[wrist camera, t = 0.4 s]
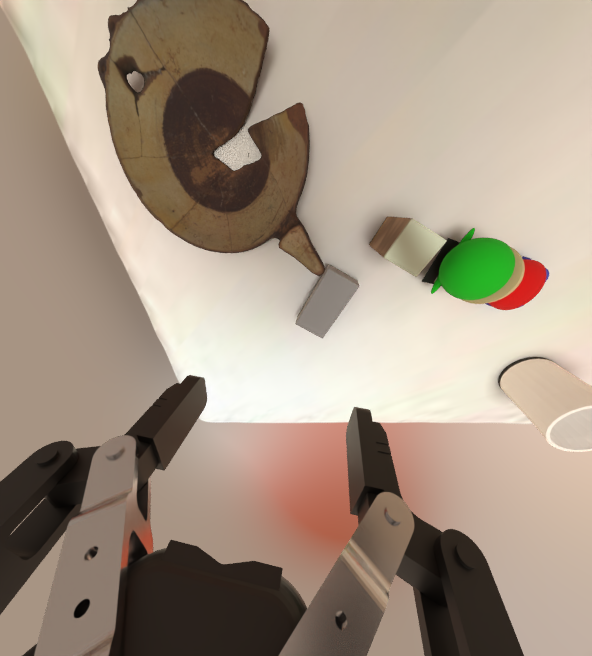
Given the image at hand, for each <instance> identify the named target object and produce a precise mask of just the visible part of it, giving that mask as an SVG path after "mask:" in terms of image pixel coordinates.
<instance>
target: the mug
mask: <svg viewBox="0 0 592 656" xmlns="http://www.w3.org/2000/svg"><path fill="white" fill-rule="evenodd" d="M499 385H500V388H501V389H502V390H503V391H504V392H505V393H506V395H507V396H508V397H509V398H510V399H511V400H512V401H513V402H514V403H515V404H516V405H517V407H518V408H519V409H520V410H521V411H522V412H523V413H524V414H525V415H526V416H527V418H528V419H529V420H530V421H531V422H532V423H533V424H534V425H535V426H536V428H537V429H538V430H539V431H540V433H541V434H542V435H543V436H544V438H545V439H546V440H547V442H548V443H549V444H550V445H552V446H554V447H555V448H558V449H561V450H564V451H572V452H584V451H592V386H590V385H588V384H587V383H585V382H584V381H582V380H580V379H579V378H577V377H576V376H574V375H573V374H571V373H569V372H568V371H566V370H565V369H563V368H562V367H560V366H558V365H557V364H555V363H554V362H552V361H551V360H548V359H545V358H537V357H533V358H526V359H522V360H519V361H517V362H514V363H512V364H511V365H509V366H508V367H506V368H505V369H504V370H503V371H502V373H501V375H500V377H499Z"/></svg>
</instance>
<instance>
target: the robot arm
mask: <svg viewBox="0 0 592 656" xmlns="http://www.w3.org/2000/svg"><path fill="white" fill-rule="evenodd" d="M206 402H207V393H206V386H205V379H204V378H202V377H197V376H192V375H189V376H187V377H186V378H185V379H184V380H183V382H182V383H181V384H179V383H176V384H174V385H173V386H171V387H170V388H168V389H166V391H165V392H164V393H163V394H162V395H161V396H160V397H159V399H157V400H156V402H154V404H153V406H151V407H150V408H149V409H148V410H147V411H146V412H145V414H144V415H143V416H142V417H141V418H140V419H139V420H138V421H137V422H136V423H135V424H134V425H133V427H131V429H130V430H129V431H128V432H127V433H126V434H125V435H122V436H118V437H115V438H112V439H110V440H109V441H107V442H105V443H104V444H103V445H102V446H97V447H88V448H79V449H75V447H74V446H73V444H72V443H71V442H68V441H58V442H54V443H51V444H49V445H46V446H44V447H42V448H41V449H39V450H37V451H36V452H35V453H33V454H32V455H31V456H30V457H29V458H27V459H26V460H25V461H24V462H23V463H22V464H20V465H19V466H18V467H17V468H16V469H15V470H14V471H12V472H11V473H10V474H9V475H8V476H7V477H6V478H4V479H3V480H2V481H1V482H0V614H1V613H2V612H3V610H4V609H5V608H6V606H7V605H8V604H9V603H10V601H11V600H12V599H13V598H14V596H15V595H16V594H17V592H18V591H19V590H20V589H21V587H22V586H23V585H24V583H25V582H26V581H27V580H28V578H29V577H30V576H31V574H32V573H33V572H34V570H35V569H36V568H37V567H38V565H39V564H40V562H41V561H42V560H43V559H44V558H45V556H46V555H47V554H48V553H49V551H50V550H51V549H52V547H53V546H54V545H55V543H56V542H57V541H58V540H59V538H60V537H61V536H62V535H63V533H64V532H65V531H66V533H65V537H64V541H63V545H62V549H61V553H60V557H59V561H58V565H57V568H56V572H55V576H54V581H53V584H52V588H51V592H50V596H49V600H48V604H47V608H46V612H45V615H44V619H43V623H42V627H41V631H40V635H39V639H38V643H37V644H36V645H35V646H33V647H32V648H31V649H30V650H29V651H27V652H26V653H25V654H24V655H23V656H367V653H368V651H369V648H370V646H371V643H372V641H373V638H374V636H375V633H376V631H377V629H378V626H379V624H380V621H381V619H382V617H383V614H384V611H385V609H386V606H387V603H388V599H389V589H390V587H391V584H392V582H393V579H394V577H395V575H397V576H399V577H400V578H401V579H403V580H404V581H406V582H407V583H409V584H410V585H411V586H413V590H414V595H415V602H416V607H417V613H418V619H419V625H420V631H421V637H422V643H423V649H424V655H425V656H524V655H523V652H522V649H521V647H520V644H519V642H518V639H517V637H516V634H515V632H514V629H513V627H512V624H511V621H510V619H509V616H508V614H507V611H506V609H505V606H504V604H503V601H502V599H501V596H500V593H499V591H498V588H497V586H496V584H495V581H494V578H493V576H492V573H491V570H490V568H489V566H488V563H487V561H486V559H485V557H484V555H483V553H482V552H481V550H480V549H479V548H478V546H477V545H476V544H475V543H474V542H473V541H472V540H471V539H470V538H469V537H468V536H466V535H465V534H463V533H462V532H460V531H457V530H453V529H448V530H446V531H444V532H441V531H440V530H438V529H436V528H435V527H433V526H431V525H429V524H428V523H426V522H424V521H423V520H421V519H420V518H418V517H417V516H416V515H414V514H413V513H412V512H411V510H410V509H409V507H408V506H407V504H406V503H405V502H404V501H403V499H402V496H401V494H400V490H399V486H398V481H397V477H396V474H395V469H394V465H393V460H392V456H391V452H390V447H389V446H388V445H389V443H388V439H387V435H386V432H385V431H384V429H383V427H382V426H381V424H380V423H377V422H372V417H371V412H370V410H368V409H363V408H358V407H354V408H353V411H352V414H351V417H350V420H349V423H348V426H347V432H346V443H347V461H348V479H349V496H350V513H351V514H353V515H357V516H358V523H359V526H358V528H357V529H356V531H355V533H354V534H353V536H352V538H351V539H350V541H349V543H348V544H347V545H346V547H345V548H344V550H343V552H342V553H341V555H340V557H339V558H338V560H337V561H336V563H335V565H334V566H333V568H332V570H331V571H330V573H329V574H328V576H327V578H326V579H325V581H324V583H323V584H322V586H321V587H320V589H319V591H318V592H317V594H316V596H315V597H314V599H313V600H312V602H311V604H310V605H309V607H308V609H307V607H306V605H305V603H304V601H303V599H302V598H301V596H300V594H299V593H298V591H297V590H296V589H295V588H294V586H292V584H291V583H290V582H289V581H287V580H286V579H285V578H284V577H282V576H281V575H282V568H280V567H276V566H272V565H268V564H264V563H260V562H256V561H250V562H242V563H233V564H220V563H219V562H217V561H216V560H215V559H213V558H212V557H211V556H209V555H208V554H207V553H205V552H204V551H203V550H201V549H200V548H199V547H197V546H193V545H189V544H185V543H181V542H178V541H174V540H171V541H170V542H169V544H168V547H167V548H166V549H161V550H157V551H155V552H153V537H152V532H151V524H150V512H151V511H150V510H151V505H150V503H151V477H150V476H151V474H152V473H153V472H154V470H155V469H160V470H165V469H166V467H167V466H168V464H169V463H170V461H171V459H172V458H173V456H174V455H175V453H176V452H177V450H178V448H179V447H180V445H181V444H182V442H183V441H184V439H185V438H186V436H187V435H188V433H189V431H190V430H191V428H192V427H193V425H194V424H195V422H196V420H197V419H198V418H199V416H200V414H201V413H202V411H203V410H204V408H205V406H206ZM43 498H45V499H44V500H43V501H42V502H41V503H40V501H41V500H42V499H43ZM39 503H40V504H39ZM38 504H39V505H38ZM37 505H38V506H37ZM36 506H37V507H36ZM35 507H36V508H35ZM34 508H35V509H34ZM33 509H34V510H33ZM32 510H33V512H32V513H31V514H30V515H29V516H28V517H27V518H26V519H25V517H26V516H27V515H28V514H29V513H30V512H31V511H32ZM24 519H25V520H24ZM23 520H24V521H23ZM22 521H23V522H22ZM21 522H22V523H21ZM20 523H21V524H20ZM19 524H20V526H19V527H18V528H17V529H16V530H15V531H14V532H13V533H12V531H13V530H14V529H15V528H16V527H17V526H18V525H19ZM11 533H12V534H11ZM10 534H11V535H10Z"/></svg>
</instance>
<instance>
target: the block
mask: <svg viewBox="0 0 592 656" xmlns="http://www.w3.org/2000/svg"><path fill="white" fill-rule="evenodd" d="M446 241H447V240H445V239H444V238H442V237H440V236H439V235H437V234H436V233H434V232H433V231H431V230H429V229H428V228H426V227H425V226H423V225H421V224H420V223H418V222H417V221H415V220H414V219H411V218H399V217H387V218H386V220H385V221H384V223H383V224H382V226H381V227H380V229H379V230H378V232H377V233H376V235H375V236H374V238H373V239H372V241H371V242H370V244H369V245H370V246H371V247H372V248H373V249H374V250H376V251H377V252H378V253H379V254H380V255H381V256H382V257H384V258H385V259H387V260H388V261H390V262H392V263H393V264H395V265H397V266H398V267H400V268H402V269H403V270H405V271H407V272H408V273H410V274H412V275H413V276H415V277H417V276H418V275H419V274H420V273H421V271H422V270H423V269H424V268H425V267H426V265H427V264H428V263H429V262H430V260H431V259H432V258H433V257H434V256H435V254H436V253H437V252H438V251H439V250H440V248H441V247H442V246H443V245H444V244H445V242H446Z"/></svg>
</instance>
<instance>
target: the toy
mask: <svg viewBox="0 0 592 656" xmlns="http://www.w3.org/2000/svg"><path fill="white" fill-rule="evenodd" d="M474 231H475V228H473V229H471V230H470V231H469V232H468V233H467V234H466V235H465V237H464V238H463V239H462V240H461V242H457V241H455V240H452V239H450V238H448V239H447V241H446V242H445V244H444V245H443V247H442V249H441V250H440V252H439V254H438V255H437V257H436V259H435V260H434V262H433V264H432V265H431V267H430V268H429V270H428V272H427V273H426V275H425V277H424V278H423V280H422V282H427V283H431V284H434V285H433V288H432V290H431V293H432V294H433V293H434V292H435V291H437V289H438V288H439V287H440V286H442V287H443V288H444V289H445V290H446V291H447V292H448V293H449V294H450V295H452V296H454V297H456V298H459V299H462V300H463V301H466V302H469V303H475V304H484V303H485V304H487V305H489V306H492V307H494V308H497V309H501V310H511V309H515V308H519V307H521V306H523V305H524V304H526V303H528V302H529V301H530V300H532V299H533V298H534V297H535V296H536V295H537V294H538V293H539V292H540V290H541V289H542V287H543V285H544V283H545V282H546V280H547V279H548V277H549V271H548V270H547V269H546V268H545V267H544V265H542V264H541V263H540V262H538V261H535V260H531V259H530V258H527V257H524V256H523V257H521V256H520V254H519V253H518V252H517V251H516V250H515V249H513V248H511V247H509V246H508V245H507V244H506V243H504V242H502V241H500V240H497V239H493V238H476V239H472V236H473V234H474Z"/></svg>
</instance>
